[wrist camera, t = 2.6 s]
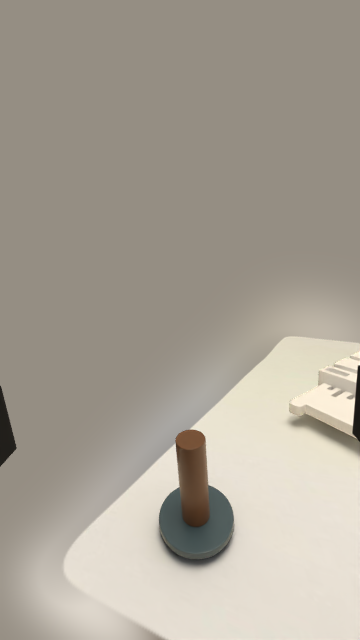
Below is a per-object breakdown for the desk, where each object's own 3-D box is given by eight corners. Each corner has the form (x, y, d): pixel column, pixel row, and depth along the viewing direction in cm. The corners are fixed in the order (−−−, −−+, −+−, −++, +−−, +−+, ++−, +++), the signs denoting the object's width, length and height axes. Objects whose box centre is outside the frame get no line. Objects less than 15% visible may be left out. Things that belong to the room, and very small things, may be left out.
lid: (224, 579, 19) (220, 479, 17) (147, 548, 22) (134, 458, 20) (239, 503, 25) (237, 422, 23) (177, 486, 28) (170, 410, 26)
